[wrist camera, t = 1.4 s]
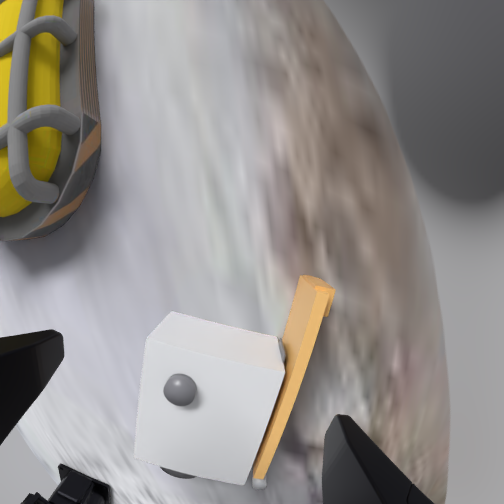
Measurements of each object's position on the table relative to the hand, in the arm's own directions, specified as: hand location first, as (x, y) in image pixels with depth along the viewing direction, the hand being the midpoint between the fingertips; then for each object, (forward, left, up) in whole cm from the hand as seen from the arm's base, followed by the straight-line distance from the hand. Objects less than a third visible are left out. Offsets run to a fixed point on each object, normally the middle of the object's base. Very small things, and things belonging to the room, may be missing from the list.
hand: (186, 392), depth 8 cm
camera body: (-7, 0, -14) cm, 16 cm away
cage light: (+14, +23, -14) cm, 31 cm away
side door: (-5, -5, -14) cm, 16 cm away
